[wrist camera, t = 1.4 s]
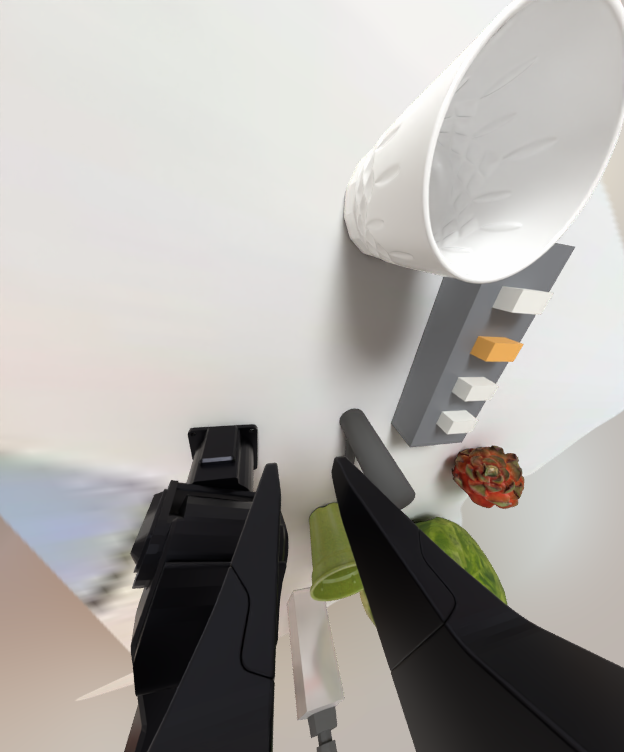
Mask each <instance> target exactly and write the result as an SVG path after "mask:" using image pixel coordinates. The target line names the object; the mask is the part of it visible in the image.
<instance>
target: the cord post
mask: <svg viewBox="0 0 624 752" xmlns="http://www.w3.org/2000/svg"><path fill="white" fill-rule="evenodd" d="M340 425H341V427H342V429H343V431H344V433H345V435H346V438H347V440H348V442H349V444H350V446H351V448H352V450H353V452H354V454H355V456H356V458H357V460H358V463H359V465H360V467H361V469H362V471H363V473H364V475H365V476H366V477H367V478H368V479H369V480H370V481H371V482H372V483H373V484H374V485H375V486H376V487H377V488H378V489H379V490H380V491H381V492H383V493H384V494H385V495H386V496H387V497H388V498H389V499H390V500H391V501H392V502H393V503H394V504H395V505H396V506H397V507H398V508H399V509H400V510H401V509H403V508H405V507H406V506H408V505H409V504H410V503H411V502H412V501H413V500H414V498H415V492H414V490H413V489H412V487H411V485H410V484H409V482H408V481H407V479H406V478H405V476H404V475H403V473H402V472H401V470H400V469H399V467H398V465H397V464H396V462H395V461H394V459H393V458H392V456H391V455H390V453H389V452H388V450H387V449H386V447H385V445H384V444H383V442H382V441H381V439H380V438H379V436H378V435H377V433H376V432H375V430H374V429H373V427H372V425H371V424H370V422H369V421H368V419H367V418H366V416H365V415H364V413H363V412H362V411H361V410H359V409H350V410H348V411H346V412H345V413H344V414H343V415H342V416H341V418H340Z"/></svg>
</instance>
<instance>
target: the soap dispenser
mask: <svg viewBox="0 0 624 752" xmlns="http://www.w3.org/2000/svg"><path fill="white" fill-rule="evenodd" d="M287 610H288V621H289V632H290V642H291V654H292V665H293V676H294V686H295V698H296V709H297V720H303V719H308V723H309V727H310V734H311V738H312V737H315V736H317V735H318V741H319V747H317V752H337V749H336V744H335V740H333V741H332V736H331V730H332V729H334V728H335V727H337V720H336V710H335V706H337V705H338V704H339V703H340V702H341V701H342V700H343V699H344V698H345V697H344V692H343V687H342V682H341V677H340V672H339V667H338V662H337V657H336V652H335V647H334V642H333V637H332V632H331V627H330V622H329V617H328V612H327V607H326V602H325V601H317V600H314V599H312V597H311V596H310V588H306V589H300V590H295V591H293V593H292V595H291V597H290V599H289V601H288V603H287Z"/></svg>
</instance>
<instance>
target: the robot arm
mask: <svg viewBox="0 0 624 752" xmlns="http://www.w3.org/2000/svg"><path fill="white" fill-rule="evenodd" d="M250 429H254V430H250ZM193 433H195V434H193ZM188 439H189V444H190V449H191V454H192V459H193V462H192V466H191V469H190V473H189V476H188V480H187V483H179V482H178V481H174V480H171V482H170V484H169V486H168V489H164V491H163V492H161V493H158V494H155V495H154V497H153V499H152V502H151V504H150V507H149V509H148V512H147V514H146V517H145V519H144V522H143V524H142V526H141V529H140V531H139V533H138V536H137V538H136V540H135V543H134V545H133V548H132V550H131V553H130V554H131V556H132V558H133V560H134V562H135V564H136V567H135V570H134V573H137V574H136V577H135V580H134V583H133V587H132V589H135V588H144V590H143V593H142V596H141V599H140V602H139V605H138V608H137V612H136V617H135V623H134V629H133V636H132V642H131V656H132V663H133V673H134V684H135V694H136V696H137V697H138V707H137V710H136V714H135V717H134V720H133V724H132V727H131V730H130V734H129V737H128V741H127V744H126V747H125V751H124V752H273V717H274V715H273V714H274V685H275V683H274V678H275V657H276V656H275V655H276V645H277V641H278V624H279V607H280V596H281V589H282V582H283V578H284V574H285V570H286V563H287V557H288V533H287V529H286V525H285V522H284V519H283V516H282V513H281V489H280V482H279V474H278V467H277V463H268V464H266V465H265V468H264V471H263V474H262V476H261V479H260V482H259V485H258V488H257V491H256V492H253V470H255V469H256V468H257V426H256V425H253V424H251V425H234V426H216V427H199V428H191V429H190V430H189V432H188ZM332 479H333V484H334V488H335V493H336V498H337V503H338V507H339V512H340V516H341V519H342V522H343V526H344V529H345V532H346V535H347V538H348V541H349V544H350V547H351V550H352V554H353V557H354V560H355V563H356V566H357V569H358V572H359V575H360V578H361V581H362V585H363V588H364V591H365V594H366V597H367V600H368V603H369V606H370V609H371V612H372V616H373V619H374V622H375V625H376V628H377V631H378V634H379V637H380V640H381V643H382V647H383V650H384V653H385V656H386V659H387V662H388V665H389V668H390V670H391V675H392V678H393V681H394V684H395V687H396V690H397V693H398V697H399V700H400V703H401V706H402V709H403V712H404V715H405V718H406V721H407V724H408V728H409V731H410V734H411V737H412V740H413V743H414V746H415V749H416V752H624V668H623V667H621V666H619V665H617V664H615V663H613V662H610V661H608V660H606V659H604V658H602V657H600V656H598V655H596V654H594V653H592V652H590V651H588V650H586V649H584V648H582V647H580V646H578V645H575V644H573V643H571V642H569V641H567V640H565V639H563V638H561V637H559V636H556V635H555V634H553V633H551V632H549V631H547V630H544V629H543V628H541V627H539V626H537V625H535V624H533V623H532V622H530V621H528V620H527V619H525V618H524V617H522V616H521V615H519V614H518V613H516V612H515V611H514V610H512V609H511V608H510V607H509V606H507V605H506V604H505V603H504V602H503V601H501V600H500V599H499V598H498V597H497V596H495V595H494V594H493V593H492V592H491V591H490V590H488V589H487V588H486V587H485V586H484V585H482V584H481V583H480V582H479V581H478V580H476V579H475V578H474V577H473V576H472V575H471V574H469V573H468V572H467V571H466V570H465V569H463V568H462V567H461V566H460V565H459V564H458V563H456V562H455V561H454V560H453V559H452V558H451V557H450V556H448V555H447V554H446V553H445V552H444V551H443V550H442V549H441V548H440V547H439V546H437V545H436V544H435V543H434V542H433V541H432V540H431V539H430V538H429V537H428V536H427V535H426V534H425V533H424V532H423V531H422V530H421V529H419V528H418V526H416V525H415V524H414V523H413V522H412V521H411V520H410V519H409V518H408V517H407V516H406V515H405V514H404V513H403V512H402V511H401V510H400V509H399V508H398V507H397V506H396V505H395V504H394V503H393V502H392V501H391V500H390V499H389V498H388V497H387V496H386V495H385V494H384V493H383V492H381V491H380V490H379V489H378V488H377V487H376V486H375V485H374V484H373V483H372V482H371V481H370V480H369V479H368V478H367V477H366V476H365V475H364V474H363V473H362V472H361V471H360V470H359V469H358V468H357V467H356V466H355V465H354V464H353V463H352V462H351V461H350V460H349V459H348V458H346V457H345V456H339V457H335V459H334V463H333V467H332Z"/></svg>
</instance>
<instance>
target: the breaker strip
mask: <svg viewBox="0 0 624 752" xmlns="http://www.w3.org/2000/svg"><path fill="white" fill-rule="evenodd" d="M574 248H575V247H574V246H568V245H563V244H558V243H555V244H554V245H553V246H552V247H551V248H550V249H549V250H548V251H547V252H546V253H544V254H543V255H542V256H541V257H540V258H539V259H537V260H536V261H535V262H533V263H532V264H531V265H529V266H528V267H526V268H525V269H523V270H521V271H520V272H518V273H516V274H514V275H512V276H510V277H508V278H505V279H502V280H499V281H496V282H491V283H483V284H475V283H468V282H464V281H460V280H456V279H452V278H448V277H444V278H443V281H442V284H441V286H440V289H439V292H438V295H437V297H436V300H435V303H434V306H433V309H432V311H431V314H430V317H429V320H428V323H427V325H426V328H425V331H424V334H423V336H422V339H421V342H420V345H419V348H418V350H417V353H416V356H415V359H414V361H413V364H412V367H411V370H410V373H409V375H408V378H407V381H406V384H405V387H404V389H403V392H402V395H401V398H400V400H399V403H398V406H397V409H396V412H395V414H394V417H393V420H392V425H393V426H394V427H395V428H396V430H397V431H398V432H399V434H400V435H401V436H402V438H403V439H404V440H405V441H406V443H407V444H408V445H409V447H418V446H428V445H439V444H449V443H459V442H462V441H463V439H464V438H465V436H466V434H467V433H470V432H472V430H473V429H474V427H475V425H476V424H477V422H478V419H476V417H477V415H478V413H479V412H480V410H481V408H482V407H483V405H484V403H485V401H486V400H491V398H492V397H493V395H494V393H495V392H496V390H497V388H498V387H499V385H497V384H496V382H497V381H498V379H499V377H500V376H501V374H502V372H503V370H504V369H505V367H506V365H507V364H508V362H513V361H514V360H515V358H516V356H517V354H518V353H519V351H520V349H521V348H522V346H523V344H522V343H520V341H521V339H522V338H523V336H524V334H525V333H526V331H527V329H528V327H529V326H530V324H531V322H532V321H533V319H534V317H535V315H536V314H537V315H541V314H542V312H543V311H544V309H545V307H546V305H547V304H548V302H549V300H550V299H551V297H552V295H553V294H554V293H550V292H549V291H550V290H551V288H552V286H553V284H554V283H555V281H556V279H557V277H558V276H559V274H560V272H561V271H562V269H563V267H564V265H565V264H566V262H567V260H568V259H569V257H570V255H571V253H572V252H573V250H574Z"/></svg>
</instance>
